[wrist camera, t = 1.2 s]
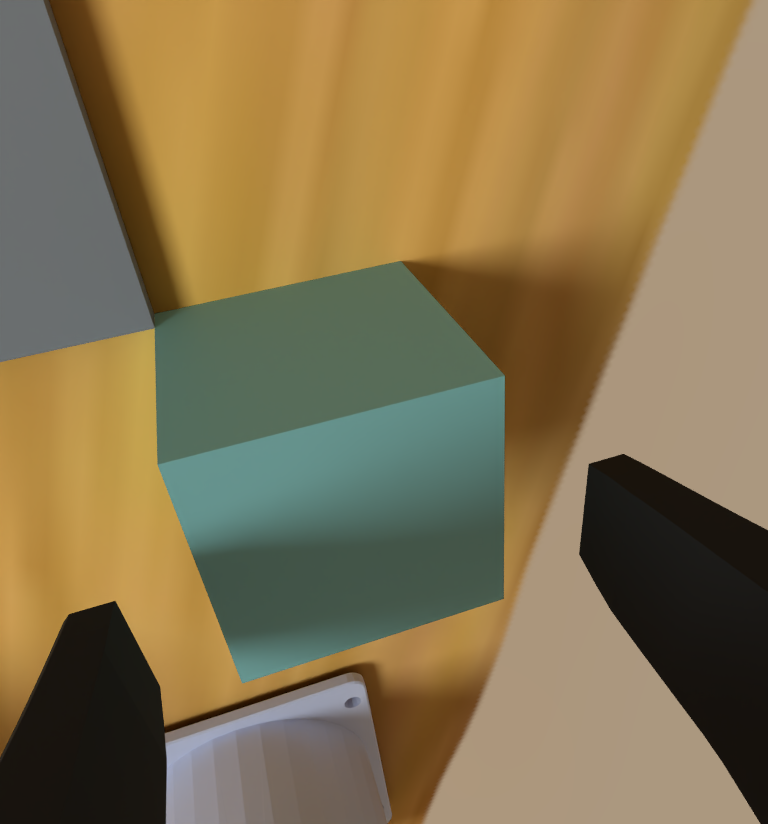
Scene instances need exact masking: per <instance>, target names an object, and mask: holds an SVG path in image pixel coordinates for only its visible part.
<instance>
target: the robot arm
mask: <svg viewBox="0 0 768 824" xmlns="http://www.w3.org/2000/svg"><path fill="white" fill-rule="evenodd" d="M579 555H580V556H581V558H582V560H583V562H584V564H585V566H586V567H587V569H588V571H589V573H590V575H591V577H592V578H593V580H594V582H595V584H596V586H597V587H598V589H599V591H600V592H601V594H602V596H603V597H604V599H605V601H606V603H607V604H608V606H609V608H610V609H611V611H612V612H613V614H614V615H615V617H616V618H617V619H618V620H619V622H620V623H621V625H622V626H623V628H624V629H625V630H626V631H627V633H628V634H629V636H630V637H631V638H632V640H633V641H634V642H635V644H636V645H637V647H638V648H639V649H640V651H641V652H642V653H643V655H644V656H645V657H646V659H647V660H648V661H649V663H650V664H651V665H652V667H653V668H654V669H655V671H656V672H657V673H658V675H659V676H660V677H661V679H662V680H663V681H664V682H665V684H666V685H667V687H668V688H669V689H670V691H671V692H672V693H673V695H674V696H675V697H676V698H677V700H678V701H679V703H680V704H681V705H682V707H683V708H684V709H685V711H686V712H687V713H688V715H689V716H690V717H691V719H692V720H693V721H694V723H695V724H696V725H697V727H698V728H699V729H700V731H701V732H702V733H703V735H704V736H705V738H706V739H707V741H708V742H709V743H710V745H711V746H712V748H713V749H714V751H715V752H716V754H717V755H718V756H719V758H720V759H721V761H722V762H723V764H724V765H725V767H726V768H727V770H728V772H729V773H730V775H731V777H732V778H733V779H734V781H735V783H736V785H737V786H738V788H739V790H740V791H741V793H742V794H743V796H744V798H745V799H746V801H747V803H748V804H749V806H750V807H751V809H752V810H753V812H754V814H755V815H756V817H757V819H758V820H759V822H760V823H761V824H768V530H766V529H764V528H762V527H761V526H758V525H757V524H755V523H752V522H751V521H749V520H747V519H745V518H743V517H741V516H739V515H737V514H736V513H733V512H732V511H730V510H728V509H726V508H724V507H722V506H720V505H719V504H717V503H715V502H713V501H711V500H709V499H707V498H705V497H704V496H702V495H700V494H698V493H696V492H694V491H692V490H691V489H689V488H687V487H685V486H683V485H682V484H680V483H678V482H676V481H674V480H672V479H670V478H668V477H667V476H665V475H663V474H661V473H659V472H658V471H656V470H654V469H652V468H650V467H648V466H646V465H644V464H642V463H641V462H639V461H637V460H634V459H633V458H631V457H629V456H627V455H625V454H622V455H618V456H615V457H611V458H608V459H604V460H601V461H598V462H594V463H591V464H589V468H588V476H587V486H586V495H585V505H584V514H583V525H582V533H581V542H580V552H579ZM391 818H392V812H391V807H390V802H389V798H388V793H387V788H386V783H385V778H384V773H383V768H382V763H381V758H380V753H379V748H378V743H377V739H376V734H375V729H374V724H373V719H372V714H371V709H370V704H369V699H368V694H367V689H366V685H365V682H364V679H363V677H362V675H360V674H358V673H352V672H351V673H346V674H343V675H340V676H337V677H334V678H330V679H327V680H324V681H321V682H318V683H315V684H312V685H309V686H306V687H303V688H300V689H297V690H294V691H291V692H288V693H285V694H282V695H279V696H276V697H273V698H270V699H267V700H264V701H261V702H258V703H255V704H252V705H249V706H246V707H243V708H240V709H237V710H234V711H231V712H228V713H225V714H222V715H219V716H216V717H212V718H209V719H206V720H203V721H200V722H197V723H194V724H191V725H188V726H185V727H182V728H179V729H176V730H173V731H170V732H167V733H165V731H164V720H163V711H162V701H161V691H160V686H159V684H158V682H157V680H156V678H155V676H154V674H153V672H152V670H151V668H150V666H149V665H148V663H147V661H146V659H145V657H144V655H143V653H142V651H141V649H140V647H139V645H138V643H137V642H136V640H135V638H134V636H133V634H132V632H131V630H130V628H129V626H128V624H127V622H126V620H125V619H124V617H123V615H122V613H121V611H120V609H119V607H118V605H117V603H116V601H113V602H110V603H106V604H103V605H99V606H96V607H93V608H89V609H86V610H82V611H79V612H75V613H72V614H69V615H68V617H67V618H66V619H65V621H64V622H63V625H62V627H61V629H60V631H59V634H58V636H57V638H56V640H55V643H54V645H53V647H52V649H51V652H50V654H49V656H48V658H47V661H46V663H45V665H44V667H43V669H42V672H41V674H40V676H39V678H38V680H37V683H36V685H35V687H34V689H33V691H32V693H31V695H30V698H29V700H28V702H27V704H26V706H25V708H24V710H23V712H22V714H21V717H20V719H19V721H18V723H17V725H16V727H15V729H14V731H13V733H12V735H11V737H10V739H9V741H8V743H7V745H6V747H5V749H4V751H3V753H2V755H1V757H0V824H388V822H389V821H390V820H391Z"/></svg>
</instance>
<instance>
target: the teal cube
mask: <svg viewBox="0 0 768 824" xmlns="http://www.w3.org/2000/svg"><path fill="white" fill-rule="evenodd" d="M154 318H155V365H156V411H157V458H158V467H159V469H160V472H161V475H162V477H163V480H164V482H165V485H166V488H167V490H168V493H169V495H170V498H171V500H172V503H173V506H174V508H175V511H176V513H177V516H178V519H179V521H180V524H181V526H182V529H183V531H184V534H185V537H186V539H187V542H188V544H189V547H190V550H191V552H192V555H193V557H194V560H195V562H196V565H197V568H198V570H199V573H200V575H201V578H202V581H203V583H204V586H205V588H206V591H207V593H208V596H209V599H210V601H211V604H212V606H213V609H214V612H215V614H216V617H217V619H218V622H219V624H220V627H221V630H222V632H223V635H224V637H225V640H226V643H227V645H228V648H229V650H230V653H231V655H232V658H233V661H234V663H235V666H236V668H237V671H238V674H239V676H240V679H241V681H242V683H245V682H248V681H251V680H254V679H257V678H260V677H264V676H267V675H270V674H273V673H276V672H279V671H282V670H285V669H288V668H291V667H294V666H297V665H301V664H304V663H307V662H310V661H313V660H316V659H319V658H322V657H325V656H328V655H331V654H335V653H338V652H341V651H344V650H347V649H350V648H353V647H356V646H359V645H362V644H365V643H368V642H372V641H375V640H378V639H381V638H384V637H387V636H390V635H393V634H396V633H399V632H402V631H406V630H409V629H412V628H415V627H418V626H421V625H424V624H427V623H430V622H433V621H436V620H440V619H443V618H446V617H449V616H452V615H455V614H458V613H461V612H464V611H467V610H470V609H473V608H477V607H480V606H483V605H486V604H489V603H492V602H495V601H498V600H501V599H504V442H505V375H504V374H503V373H502V372H501V371H500V370H499V369H498V368H497V366H496V365H495V364H494V363H493V362H492V361H491V360H490V359H489V358H488V357H487V355H486V354H485V353H484V352H483V351H482V350H481V349H480V348H479V347H478V346H477V344H476V343H475V342H474V341H473V340H472V339H471V338H470V337H469V336H468V334H467V333H466V332H465V331H464V330H463V329H462V328H461V327H460V326H459V325H458V323H457V322H456V321H455V320H454V319H453V318H452V317H451V316H450V315H449V314H448V312H447V311H446V310H445V309H444V308H443V307H442V306H441V305H440V304H439V303H438V301H437V300H436V299H435V298H434V297H433V296H432V295H431V294H430V293H429V292H428V290H427V289H426V288H425V287H424V286H423V285H422V284H421V283H420V282H419V281H418V279H417V278H416V277H415V276H414V275H413V274H412V273H411V272H410V271H409V270H408V268H407V267H406V266H405V265H404V264H403V263H402V262H401V261H399V262H394V263H389V264H385V265H380V266H375V267H371V268H366V269H361V270H357V271H352V272H347V273H343V274H338V275H333V276H329V277H324V278H319V279H315V280H310V281H305V282H301V283H296V284H291V285H287V286H282V287H277V288H273V289H268V290H263V291H259V292H254V293H249V294H245V295H240V296H235V297H231V298H226V299H221V300H217V301H212V302H207V303H203V304H198V305H193V306H189V307H184V308H179V309H175V310H170V311H165V312H161V313H156V314H154Z"/></svg>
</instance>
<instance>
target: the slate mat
mask: <svg viewBox="0 0 768 824" xmlns="http://www.w3.org/2000/svg"><path fill="white" fill-rule="evenodd" d="M153 328H155V322H154V312H153V309H152V306H151V303H150V300H149V297H148V294H147V291H146V289H145V286H144V283H143V280H142V277H141V274H140V271H139V268H138V265H137V262H136V259H135V256H134V253H133V250H132V247H131V244H130V241H129V238H128V235H127V232H126V229H125V226H124V223H123V220H122V217H121V214H120V211H119V208H118V205H117V202H116V199H115V196H114V193H113V190H112V187H111V184H110V181H109V178H108V175H107V172H106V169H105V166H104V163H103V160H102V157H101V154H100V151H99V148H98V145H97V142H96V140H95V137H94V134H93V131H92V128H91V125H90V122H89V119H88V116H87V113H86V110H85V107H84V104H83V101H82V98H81V95H80V92H79V89H78V86H77V83H76V80H75V77H74V74H73V71H72V68H71V65H70V62H69V59H68V56H67V53H66V50H65V47H64V44H63V41H62V38H61V35H60V32H59V29H58V26H57V23H56V20H55V17H54V14H53V11H52V8H51V5H50V2H49V0H0V362H3V361H7V360H12V359H16V358H21V357H25V356H30V355H34V354H39V353H44V352H48V351H53V350H57V349H62V348H66V347H71V346H76V345H80V344H85V343H89V342H94V341H98V340H103V339H107V338H112V337H117V336H121V335H126V334H130V333H135V332H139V331H144V330H149V329H153Z"/></svg>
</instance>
